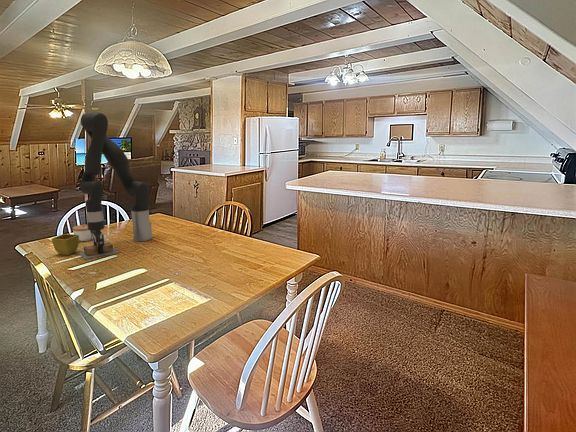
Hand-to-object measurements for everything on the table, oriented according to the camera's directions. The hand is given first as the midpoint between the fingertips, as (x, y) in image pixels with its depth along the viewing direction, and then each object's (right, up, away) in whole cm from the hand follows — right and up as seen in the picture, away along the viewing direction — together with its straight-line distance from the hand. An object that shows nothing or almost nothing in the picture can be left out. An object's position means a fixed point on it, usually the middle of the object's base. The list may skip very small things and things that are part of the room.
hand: (98, 251), depth 188 cm
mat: (0, -1, 0) cm, 1 cm away
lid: (0, 0, 0) cm, 0 cm away
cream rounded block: (-4, +2, +11) cm, 12 cm away
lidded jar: (-19, +4, +22) cm, 30 cm away
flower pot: (-16, -1, -1) cm, 16 cm away
